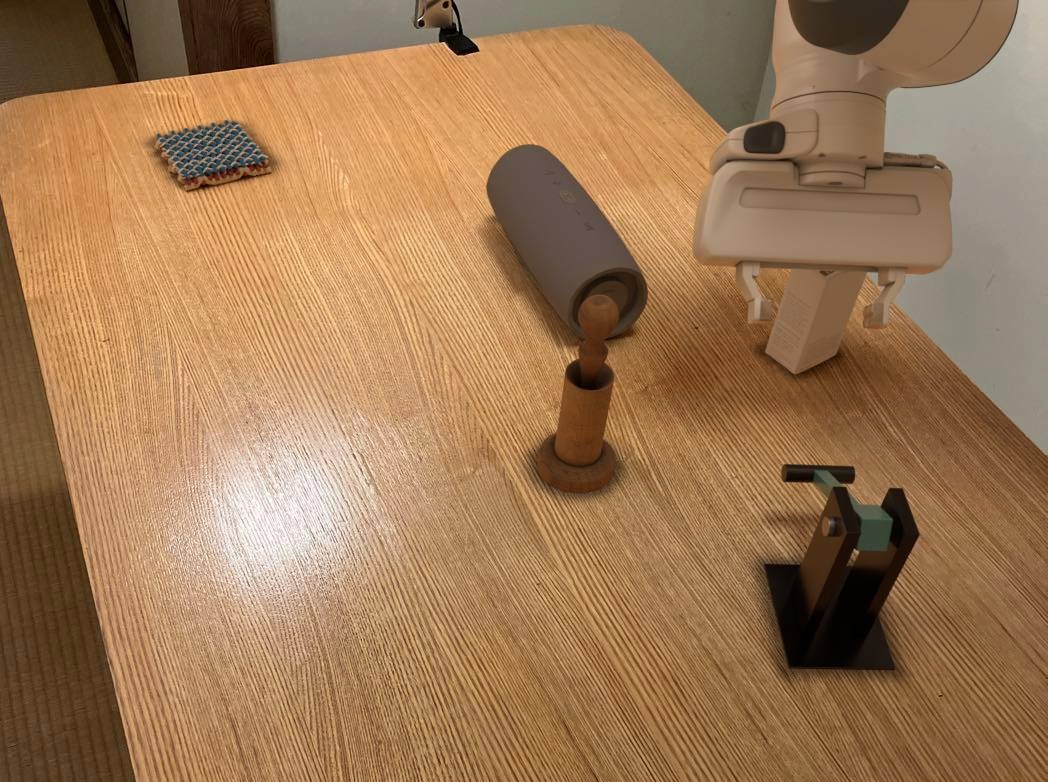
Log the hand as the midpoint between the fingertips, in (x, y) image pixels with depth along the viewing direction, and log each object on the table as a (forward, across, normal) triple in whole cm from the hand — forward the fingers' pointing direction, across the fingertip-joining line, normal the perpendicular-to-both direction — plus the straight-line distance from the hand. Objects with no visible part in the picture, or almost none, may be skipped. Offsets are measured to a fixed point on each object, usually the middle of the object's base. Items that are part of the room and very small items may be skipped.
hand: (817, 325), depth 86 cm
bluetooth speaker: (-7, +18, -26) cm, 33 cm away
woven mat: (-22, +56, -41) cm, 73 cm away
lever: (+15, 0, +7) cm, 16 cm away
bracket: (+23, 0, +4) cm, 24 cm away
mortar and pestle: (+12, +18, -7) cm, 23 cm away
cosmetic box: (+1, -5, -18) cm, 19 cm away
